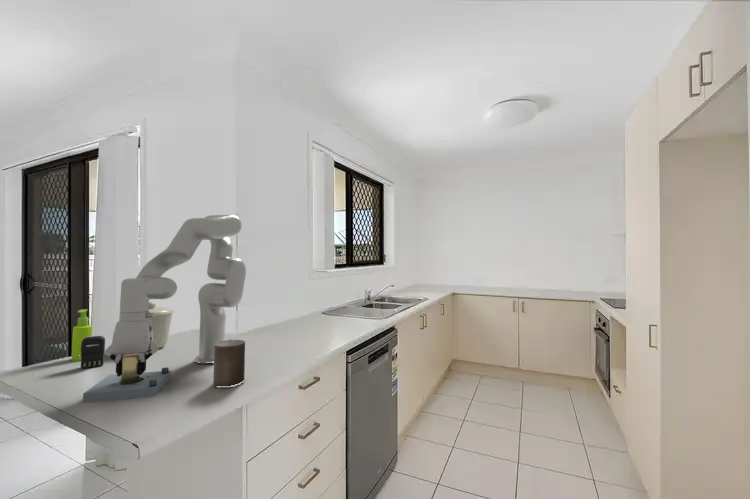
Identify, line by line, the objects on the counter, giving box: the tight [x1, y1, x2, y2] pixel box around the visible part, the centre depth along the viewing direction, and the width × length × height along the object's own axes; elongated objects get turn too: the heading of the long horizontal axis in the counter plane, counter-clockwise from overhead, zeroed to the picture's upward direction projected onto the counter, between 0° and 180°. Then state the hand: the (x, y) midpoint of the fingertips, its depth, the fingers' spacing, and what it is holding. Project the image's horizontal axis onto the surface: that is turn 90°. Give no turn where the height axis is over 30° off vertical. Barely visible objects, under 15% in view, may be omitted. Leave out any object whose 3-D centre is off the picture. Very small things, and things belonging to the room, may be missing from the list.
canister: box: [148, 301, 175, 351], centre depth 152 cm, size 18×18×21 cm
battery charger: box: [80, 335, 106, 369], centre depth 125 cm, size 7×4×11 cm, turn 126°
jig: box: [82, 366, 172, 403], centre depth 106 cm, size 18×16×4 cm
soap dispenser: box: [70, 308, 93, 362], centre depth 134 cm, size 6×7×20 cm
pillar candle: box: [212, 338, 246, 386], centre depth 112 cm, size 10×10×15 cm
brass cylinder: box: [121, 353, 140, 384], centre depth 106 cm, size 5×5×8 cm
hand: (130, 373), depth 106 cm, fingers closed on brass cylinder, 5 cm apart
